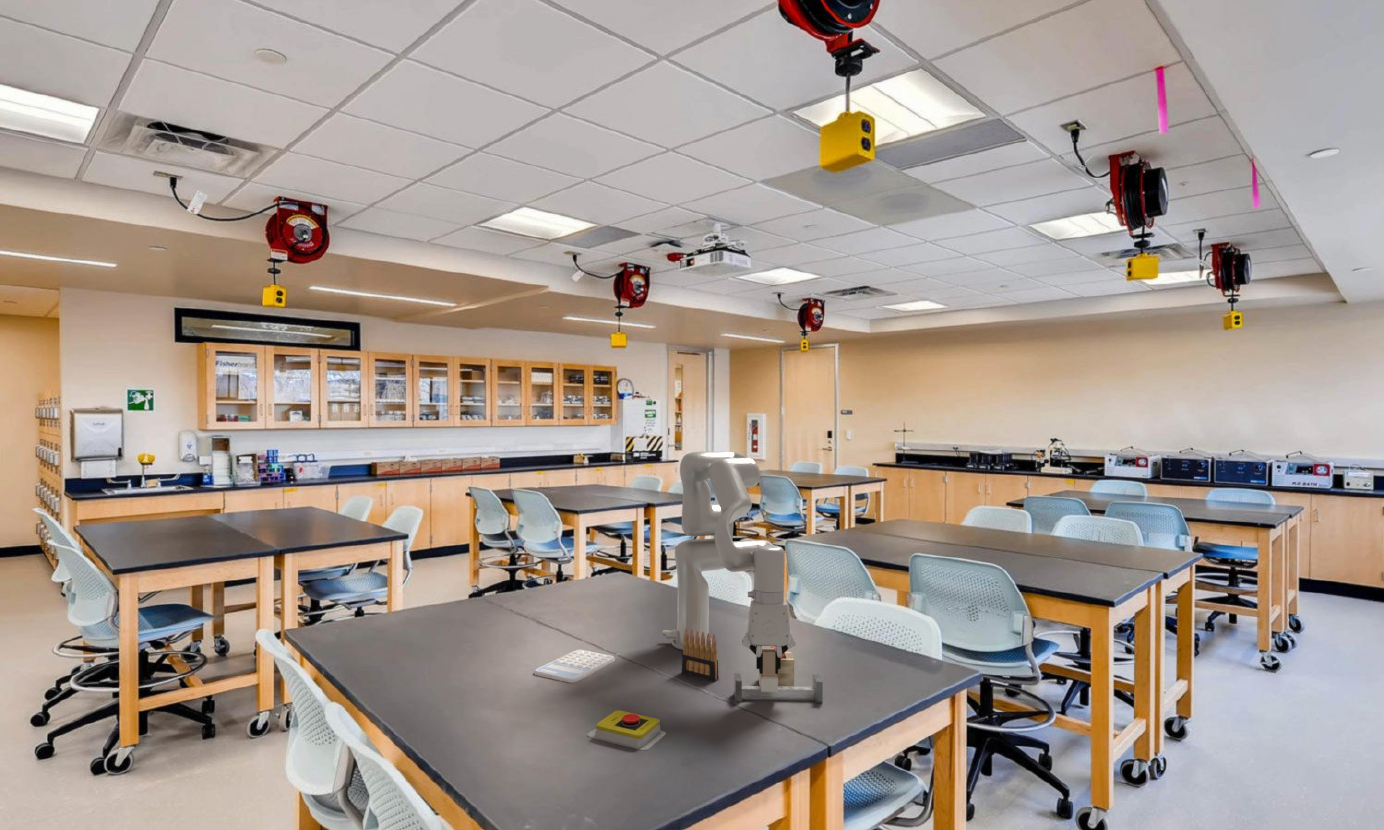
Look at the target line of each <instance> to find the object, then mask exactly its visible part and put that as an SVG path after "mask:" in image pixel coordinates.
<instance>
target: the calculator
mask: <svg viewBox="0 0 1384 830" xmlns="http://www.w3.org/2000/svg"><path fill="white" fill-rule="evenodd" d="M615 661H616V658H615V656H613V655H611V654H606V653H605V654H604V653H600V652H595V651H594V652H593V651H589V650H584V649H580V648H579V649H576V650H573V651H571V652H569V653H567V654H565V655H564V656H561V657H558V658H557V659H555V660H553V661H551V662H548V663H546V664H544V665H542V666H540V667H537V668H536V669H535V671H534V675H535V676H539V677H541V678H547V679H552V680H557V681H560V682H564V683H565V682H566V683H570V684H571V683H573V684H575V683H577V682H579V681H580V680H583V679H584V678H586V677H588V676H590V675H592V674H593V673H596V672H597V671H599V670H600V669H603V668H604V667H606V666H608V665H609V664H611V663H613V662H615Z"/></svg>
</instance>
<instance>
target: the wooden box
mask: <svg viewBox="0 0 1384 830" xmlns="http://www.w3.org/2000/svg"><path fill="white" fill-rule="evenodd" d="M761 653H762V651H761ZM776 675H777V678H778V686H793V687H795V658H794V655H793V653H792V651H786V652H785V653H784V659H781V669H778V674H776Z"/></svg>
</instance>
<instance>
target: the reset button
mask: <svg viewBox="0 0 1384 830" xmlns="http://www.w3.org/2000/svg"><path fill="white" fill-rule="evenodd" d="M769 648H774V650H775V652H776V646H769ZM781 659H784V654H783V655H782V657H781Z"/></svg>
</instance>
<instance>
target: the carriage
mask: <svg viewBox="0 0 1384 830" xmlns="http://www.w3.org/2000/svg"><path fill="white" fill-rule="evenodd" d="M761 652H762V657H763V673H762V674H760V672H759V671H758V683H759V685H758V686H760V689H761V692H778V678H777V675H776V673H775V650H774V648H770V647H762V650H761Z"/></svg>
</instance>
